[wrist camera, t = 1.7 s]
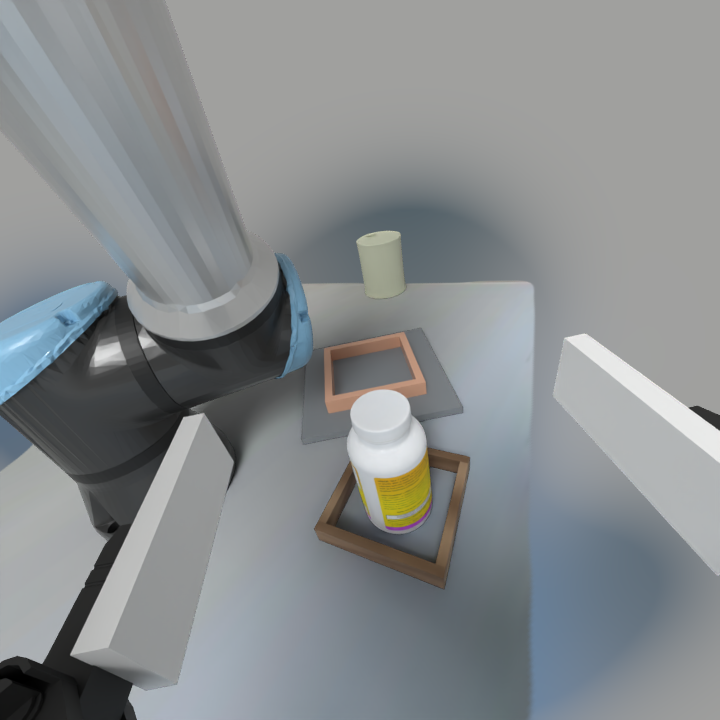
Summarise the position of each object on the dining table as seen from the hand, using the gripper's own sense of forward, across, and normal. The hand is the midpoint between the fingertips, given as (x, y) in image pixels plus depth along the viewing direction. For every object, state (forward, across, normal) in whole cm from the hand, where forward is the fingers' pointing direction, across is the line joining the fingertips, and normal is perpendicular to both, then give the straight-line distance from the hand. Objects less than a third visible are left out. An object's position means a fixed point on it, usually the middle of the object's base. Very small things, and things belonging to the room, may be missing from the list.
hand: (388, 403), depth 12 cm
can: (+60, +8, -22) cm, 65 cm away
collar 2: (+10, 0, -22) cm, 24 cm away
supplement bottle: (+10, 0, -22) cm, 24 cm away
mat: (+30, 0, -22) cm, 37 cm away
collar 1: (+30, 0, -22) cm, 37 cm away
